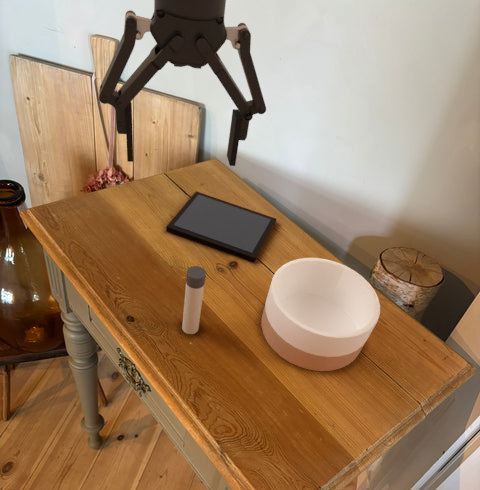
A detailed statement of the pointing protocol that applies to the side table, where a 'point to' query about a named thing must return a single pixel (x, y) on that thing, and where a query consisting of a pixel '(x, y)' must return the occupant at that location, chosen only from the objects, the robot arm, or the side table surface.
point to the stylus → (193, 299)
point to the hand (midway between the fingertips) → (181, 158)
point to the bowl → (319, 313)
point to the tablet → (222, 226)
